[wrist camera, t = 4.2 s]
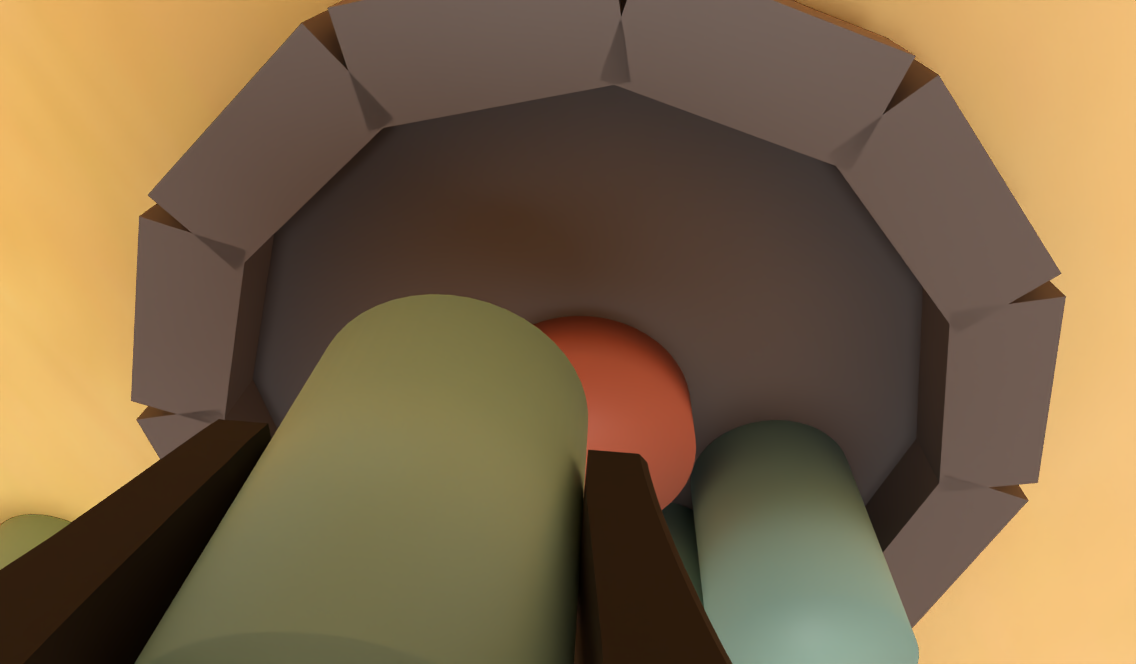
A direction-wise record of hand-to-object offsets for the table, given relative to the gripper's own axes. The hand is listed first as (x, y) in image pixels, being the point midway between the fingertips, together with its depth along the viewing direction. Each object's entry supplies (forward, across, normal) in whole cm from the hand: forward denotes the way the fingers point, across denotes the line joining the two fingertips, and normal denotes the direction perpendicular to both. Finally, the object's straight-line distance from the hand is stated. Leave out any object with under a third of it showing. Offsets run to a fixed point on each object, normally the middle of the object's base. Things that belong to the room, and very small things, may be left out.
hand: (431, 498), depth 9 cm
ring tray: (+8, -2, +4) cm, 9 cm away
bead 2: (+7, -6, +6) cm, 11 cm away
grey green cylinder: (+2, 0, 0) cm, 2 cm away
